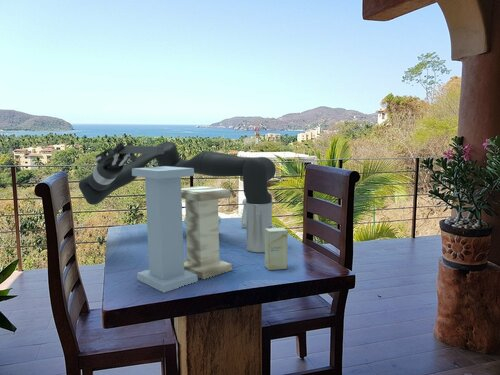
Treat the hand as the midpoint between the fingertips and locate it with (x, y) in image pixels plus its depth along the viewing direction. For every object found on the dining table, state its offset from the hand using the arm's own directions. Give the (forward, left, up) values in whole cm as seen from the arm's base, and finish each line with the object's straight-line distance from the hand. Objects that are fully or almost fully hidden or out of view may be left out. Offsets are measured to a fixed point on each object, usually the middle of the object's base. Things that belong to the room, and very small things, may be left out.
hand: (126, 144), depth 120 cm
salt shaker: (-36, -51, -39) cm, 73 cm away
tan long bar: (-5, +5, -3) cm, 7 cm away
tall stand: (-14, +15, -38) cm, 44 cm away
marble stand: (-23, +5, -38) cm, 45 cm away
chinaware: (-18, -35, -39) cm, 55 cm away
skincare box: (-46, +4, -39) cm, 60 cm away
